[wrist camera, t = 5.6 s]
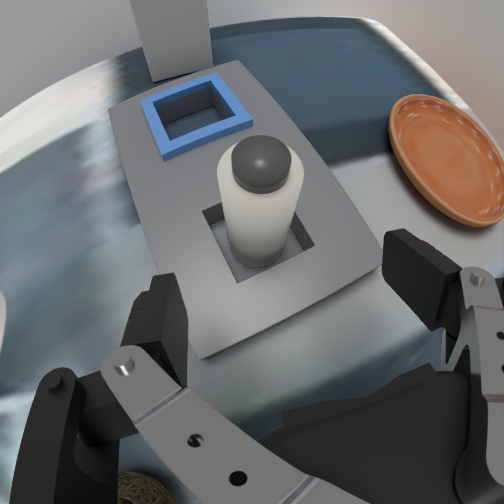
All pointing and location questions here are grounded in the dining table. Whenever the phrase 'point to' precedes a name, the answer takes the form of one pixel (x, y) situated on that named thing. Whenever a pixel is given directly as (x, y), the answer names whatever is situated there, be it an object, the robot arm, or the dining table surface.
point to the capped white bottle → (259, 197)
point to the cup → (141, 489)
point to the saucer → (448, 159)
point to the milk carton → (173, 36)
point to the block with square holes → (211, 210)
